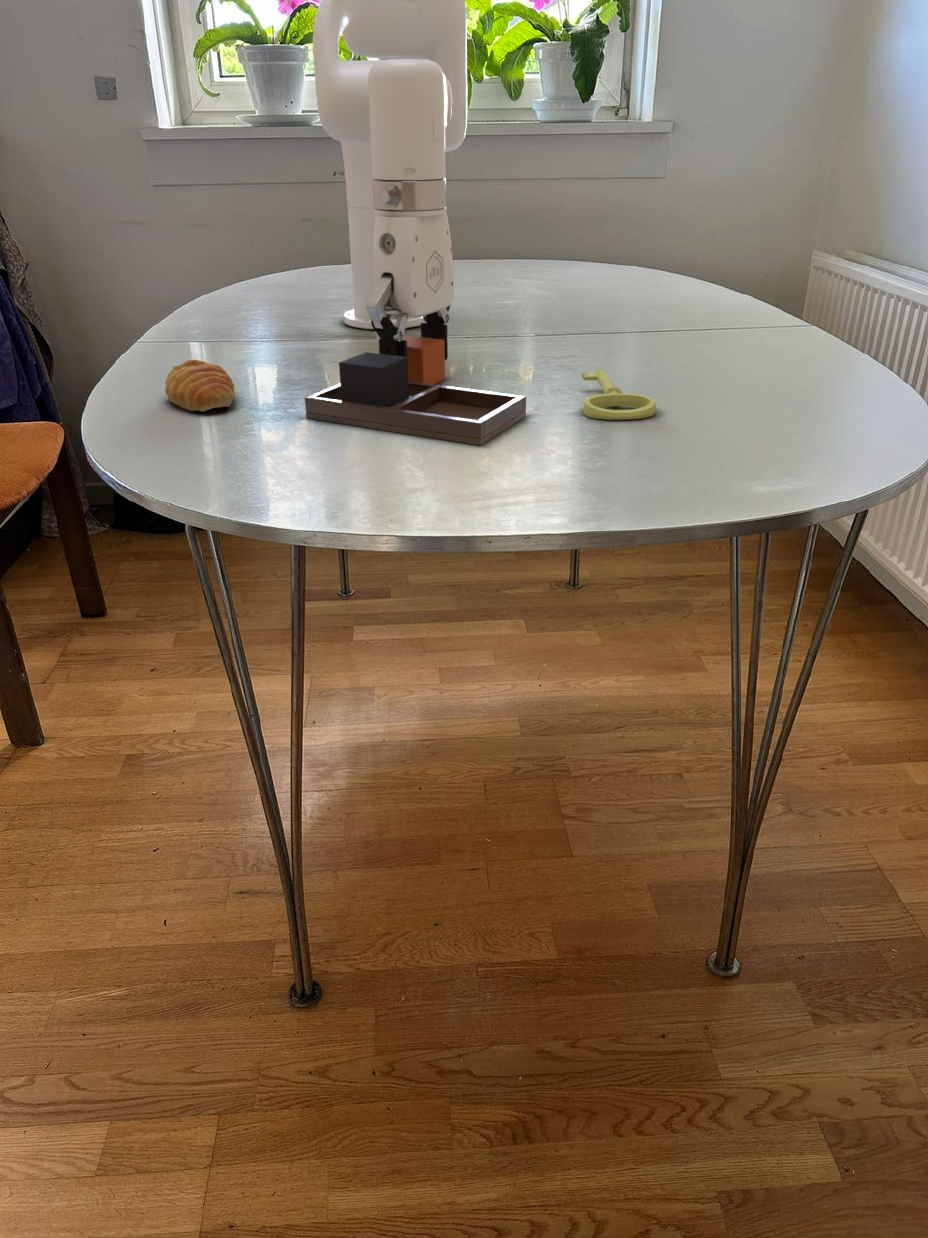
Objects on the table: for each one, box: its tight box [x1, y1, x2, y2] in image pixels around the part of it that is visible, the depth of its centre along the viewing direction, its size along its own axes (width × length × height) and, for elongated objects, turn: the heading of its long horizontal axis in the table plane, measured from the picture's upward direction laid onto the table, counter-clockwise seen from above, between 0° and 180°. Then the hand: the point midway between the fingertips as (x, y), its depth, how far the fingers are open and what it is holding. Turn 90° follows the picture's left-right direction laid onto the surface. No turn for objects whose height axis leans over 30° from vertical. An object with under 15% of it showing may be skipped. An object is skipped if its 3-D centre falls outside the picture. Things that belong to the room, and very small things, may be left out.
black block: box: [338, 351, 409, 408], centre depth 92 cm, size 5×5×4 cm
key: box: [581, 368, 657, 421], centre depth 95 cm, size 7×12×2 cm, turn 23°
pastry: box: [164, 359, 236, 413], centre depth 96 cm, size 9×7×4 cm
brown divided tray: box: [304, 381, 527, 446], centre depth 91 cm, size 10×20×2 cm, turn 63°
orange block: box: [402, 335, 446, 385], centre depth 103 cm, size 5×5×4 cm
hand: (415, 367), depth 103 cm, fingers open, 8 cm apart
